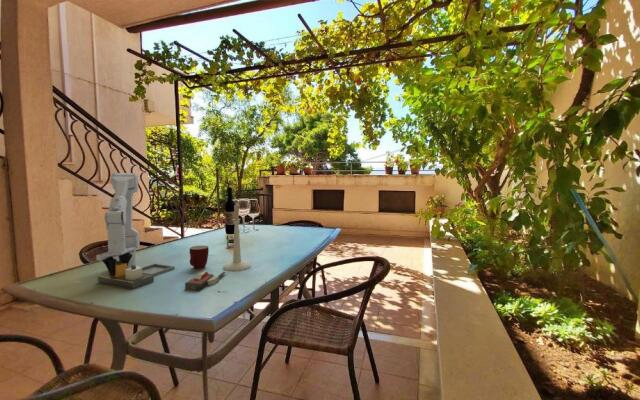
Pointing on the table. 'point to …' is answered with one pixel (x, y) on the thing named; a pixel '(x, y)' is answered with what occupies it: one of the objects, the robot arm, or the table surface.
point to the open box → (125, 281)
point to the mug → (198, 256)
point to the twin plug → (133, 273)
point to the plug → (120, 269)
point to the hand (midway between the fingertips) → (118, 273)
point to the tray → (156, 269)
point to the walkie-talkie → (202, 281)
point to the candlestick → (236, 248)
